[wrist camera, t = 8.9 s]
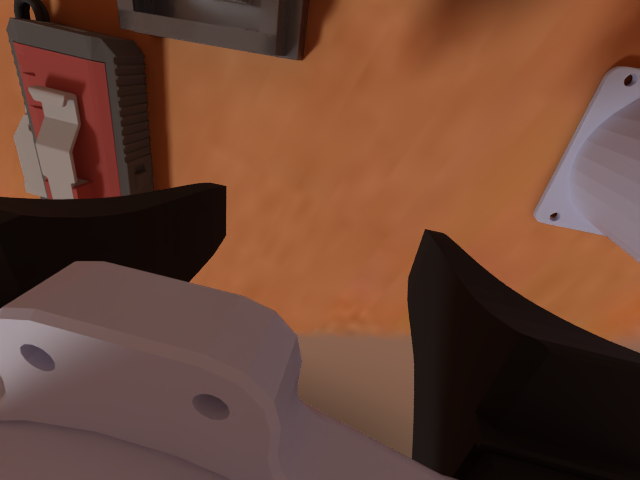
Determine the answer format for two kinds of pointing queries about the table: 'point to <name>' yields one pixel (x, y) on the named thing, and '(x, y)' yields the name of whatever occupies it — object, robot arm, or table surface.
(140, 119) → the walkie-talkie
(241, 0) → the seated billet
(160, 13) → the metal divided rack
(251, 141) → the table surface
